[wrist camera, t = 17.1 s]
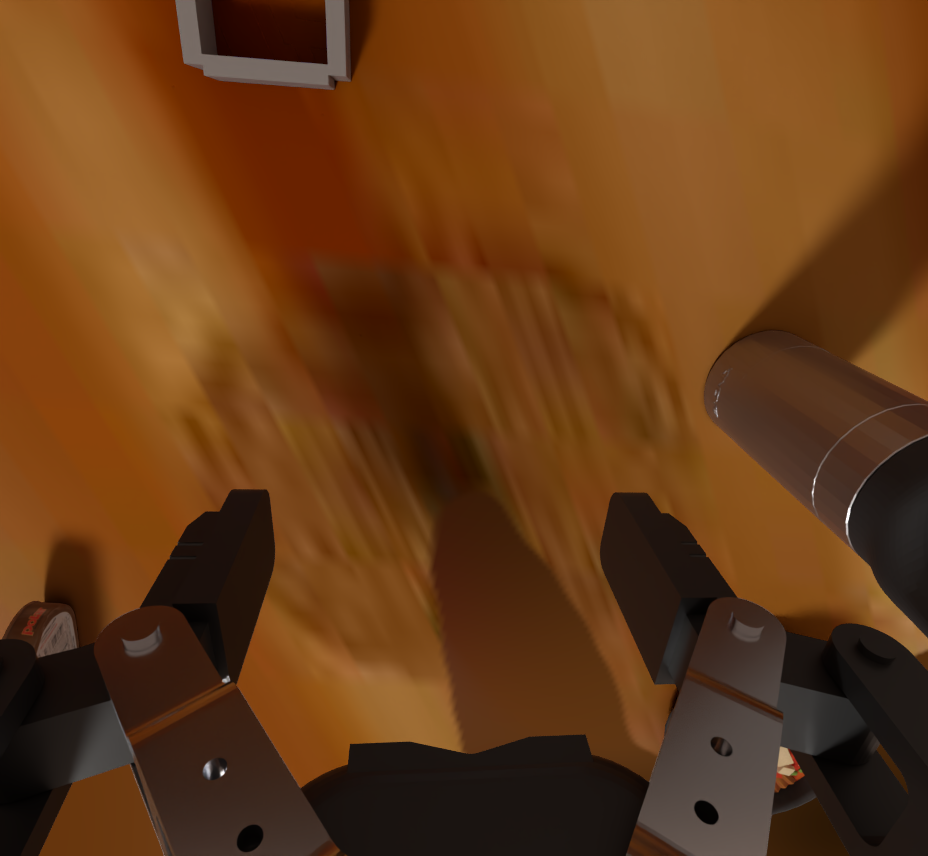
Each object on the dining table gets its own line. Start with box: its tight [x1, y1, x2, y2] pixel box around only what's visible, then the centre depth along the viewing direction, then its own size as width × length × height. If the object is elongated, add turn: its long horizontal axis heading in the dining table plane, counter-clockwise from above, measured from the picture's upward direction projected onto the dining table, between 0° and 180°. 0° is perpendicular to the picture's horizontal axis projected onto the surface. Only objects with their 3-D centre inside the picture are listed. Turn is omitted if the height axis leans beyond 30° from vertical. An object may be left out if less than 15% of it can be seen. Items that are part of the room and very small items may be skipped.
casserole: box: [664, 709, 816, 815], centre depth 62 cm, size 25×19×8 cm
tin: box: [2, 601, 79, 658], centre depth 49 cm, size 15×3×8 cm, turn 168°
